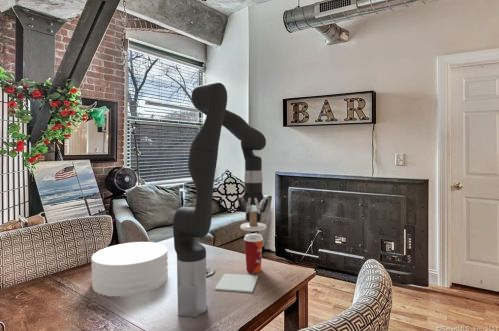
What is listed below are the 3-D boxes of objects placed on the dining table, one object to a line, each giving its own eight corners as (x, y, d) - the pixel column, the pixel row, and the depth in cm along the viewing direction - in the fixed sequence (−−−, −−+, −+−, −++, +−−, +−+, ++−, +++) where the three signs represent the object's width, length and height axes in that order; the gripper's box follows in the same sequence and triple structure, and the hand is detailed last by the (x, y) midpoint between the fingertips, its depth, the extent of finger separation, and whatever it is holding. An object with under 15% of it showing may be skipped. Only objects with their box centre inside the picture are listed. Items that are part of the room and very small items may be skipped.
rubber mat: (252, 292, 115) (252, 291, 115) (214, 289, 117) (214, 288, 117) (258, 277, 129) (258, 275, 129) (224, 275, 131) (224, 273, 131)
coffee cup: (263, 274, 132) (263, 238, 131) (243, 274, 132) (243, 238, 131) (263, 266, 140) (263, 232, 139) (244, 266, 140) (244, 232, 139)
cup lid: (264, 231, 129) (264, 214, 128) (237, 230, 131) (237, 213, 130) (268, 225, 139) (268, 209, 139) (243, 224, 141) (243, 208, 141)
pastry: (183, 270, 138) (183, 260, 137) (211, 266, 142) (210, 256, 142) (188, 281, 126) (188, 269, 126) (218, 276, 131) (217, 265, 130)
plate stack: (76, 287, 121) (74, 257, 120) (134, 263, 146) (133, 238, 145) (128, 303, 108) (127, 270, 107) (182, 274, 132) (181, 247, 132)
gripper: (234, 181, 132) (235, 223, 132) (269, 182, 129) (269, 224, 130) (238, 180, 139) (239, 219, 140) (271, 180, 136) (271, 220, 137)
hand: (253, 221), depth 135 cm, fingers closed on cup lid, 3 cm apart
